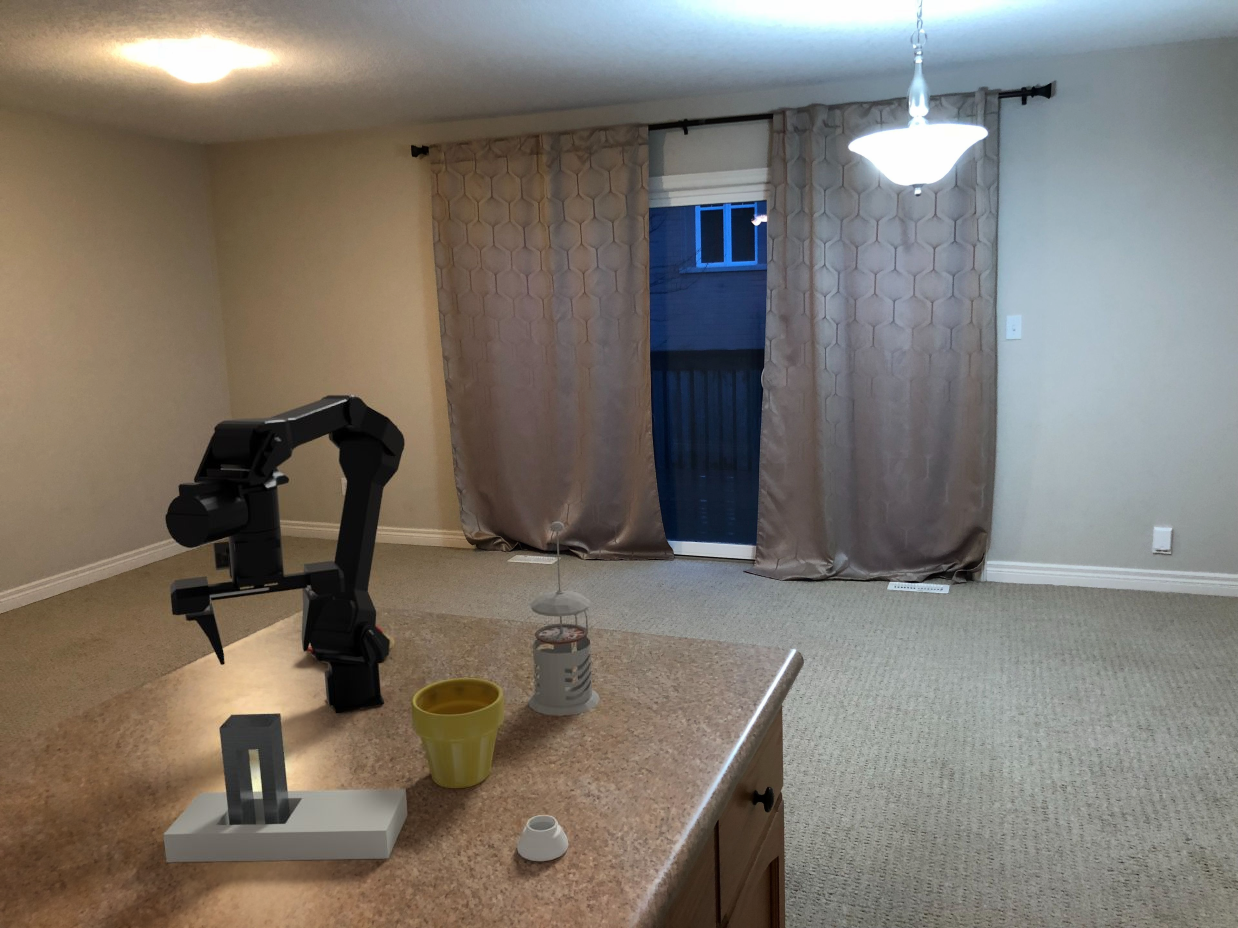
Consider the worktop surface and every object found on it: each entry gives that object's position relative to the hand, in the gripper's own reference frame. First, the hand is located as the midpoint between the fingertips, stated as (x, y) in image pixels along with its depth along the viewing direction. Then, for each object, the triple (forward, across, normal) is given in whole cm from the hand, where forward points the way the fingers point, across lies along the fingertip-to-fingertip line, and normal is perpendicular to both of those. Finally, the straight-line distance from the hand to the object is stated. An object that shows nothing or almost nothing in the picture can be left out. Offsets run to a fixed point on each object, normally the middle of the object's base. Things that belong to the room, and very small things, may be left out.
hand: (264, 656), depth 112 cm
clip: (+13, +3, +17) cm, 22 cm away
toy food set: (+13, -15, -32) cm, 38 cm away
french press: (+13, -38, +1) cm, 40 cm away
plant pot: (+13, -19, +14) cm, 27 cm away
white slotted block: (+13, 0, +19) cm, 23 cm away
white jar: (+14, -22, +33) cm, 42 cm away
